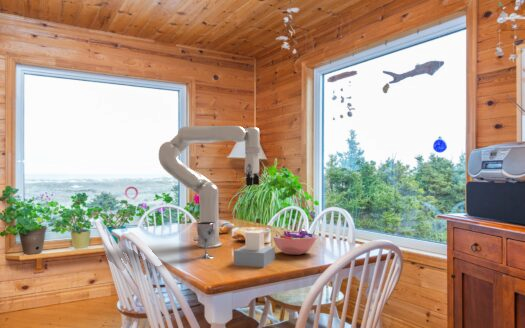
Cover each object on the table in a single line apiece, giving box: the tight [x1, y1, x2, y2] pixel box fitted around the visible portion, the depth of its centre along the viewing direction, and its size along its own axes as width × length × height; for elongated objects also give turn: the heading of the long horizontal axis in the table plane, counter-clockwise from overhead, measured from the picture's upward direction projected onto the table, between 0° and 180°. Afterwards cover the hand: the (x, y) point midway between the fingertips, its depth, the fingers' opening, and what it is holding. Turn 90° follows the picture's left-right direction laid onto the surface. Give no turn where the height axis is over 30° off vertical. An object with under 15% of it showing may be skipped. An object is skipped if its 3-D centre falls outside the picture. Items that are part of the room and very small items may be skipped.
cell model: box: [272, 228, 318, 256], centre depth 173 cm, size 17×20×11 cm
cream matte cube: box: [244, 229, 265, 251], centre depth 158 cm, size 6×6×7 cm
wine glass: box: [196, 221, 215, 260], centre depth 168 cm, size 8×8×15 cm
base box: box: [233, 244, 276, 268], centre depth 158 cm, size 13×13×6 cm
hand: (252, 184), depth 196 cm, fingers open, 9 cm apart
